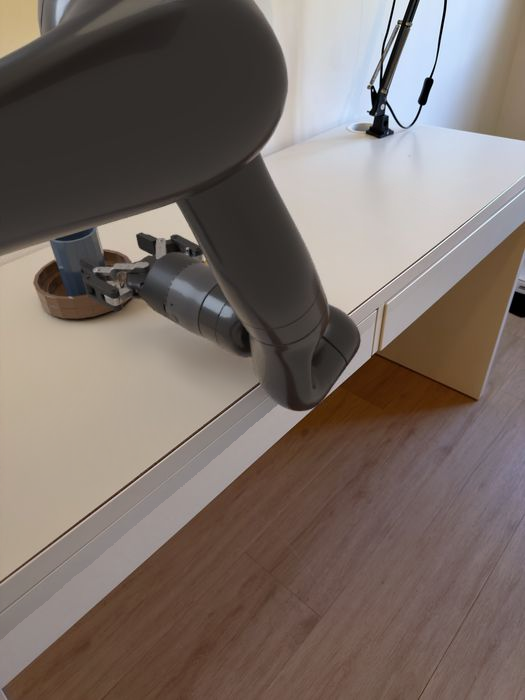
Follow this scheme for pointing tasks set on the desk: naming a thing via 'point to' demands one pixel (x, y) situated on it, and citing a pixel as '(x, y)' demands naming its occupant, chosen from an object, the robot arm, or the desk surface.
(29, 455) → the desk surface
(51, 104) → the robot arm
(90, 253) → the cup
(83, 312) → the bowl
